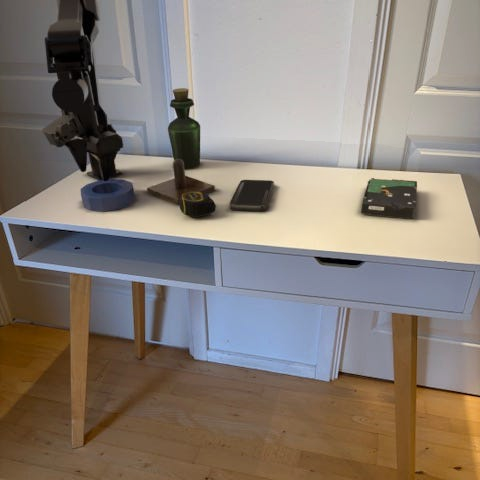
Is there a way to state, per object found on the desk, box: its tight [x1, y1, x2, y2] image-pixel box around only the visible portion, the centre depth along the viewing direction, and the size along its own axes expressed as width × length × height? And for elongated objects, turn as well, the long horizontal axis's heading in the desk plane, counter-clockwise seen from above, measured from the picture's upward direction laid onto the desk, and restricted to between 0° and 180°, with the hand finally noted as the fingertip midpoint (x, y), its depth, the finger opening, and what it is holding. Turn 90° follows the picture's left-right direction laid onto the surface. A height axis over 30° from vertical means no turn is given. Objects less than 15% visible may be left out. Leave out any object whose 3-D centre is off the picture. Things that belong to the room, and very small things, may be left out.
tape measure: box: [178, 191, 217, 218], centre depth 101 cm, size 7×7×4 cm
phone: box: [229, 179, 275, 212], centre depth 108 cm, size 8×1×15 cm
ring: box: [80, 178, 136, 212], centre depth 108 cm, size 11×11×3 cm
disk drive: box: [360, 177, 418, 219], centre depth 102 cm, size 10×3×15 cm
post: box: [146, 159, 216, 206], centre depth 110 cm, size 11×11×8 cm
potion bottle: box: [167, 87, 201, 170], centre depth 122 cm, size 8×8×18 cm
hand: (94, 176), depth 109 cm, fingers open, 9 cm apart
